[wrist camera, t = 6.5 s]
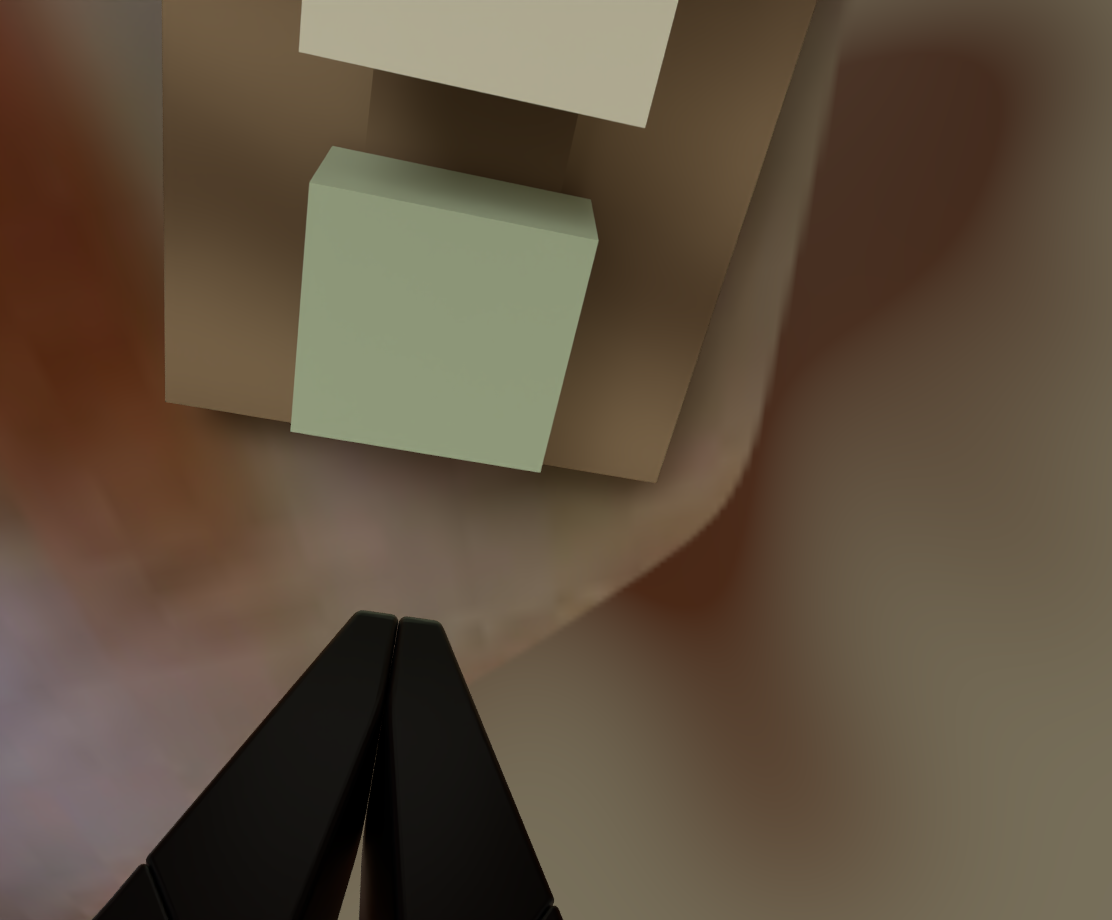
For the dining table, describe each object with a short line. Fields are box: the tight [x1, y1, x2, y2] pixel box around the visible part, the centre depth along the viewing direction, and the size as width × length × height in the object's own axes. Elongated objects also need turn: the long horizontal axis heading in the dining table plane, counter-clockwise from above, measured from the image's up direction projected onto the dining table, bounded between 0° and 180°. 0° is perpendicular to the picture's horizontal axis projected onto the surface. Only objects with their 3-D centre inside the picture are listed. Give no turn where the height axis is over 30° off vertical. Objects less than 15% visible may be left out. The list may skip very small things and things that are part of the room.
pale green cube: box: [290, 146, 599, 473], centre depth 17 cm, size 4×4×4 cm
